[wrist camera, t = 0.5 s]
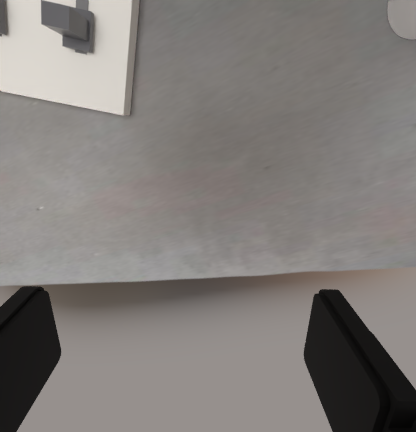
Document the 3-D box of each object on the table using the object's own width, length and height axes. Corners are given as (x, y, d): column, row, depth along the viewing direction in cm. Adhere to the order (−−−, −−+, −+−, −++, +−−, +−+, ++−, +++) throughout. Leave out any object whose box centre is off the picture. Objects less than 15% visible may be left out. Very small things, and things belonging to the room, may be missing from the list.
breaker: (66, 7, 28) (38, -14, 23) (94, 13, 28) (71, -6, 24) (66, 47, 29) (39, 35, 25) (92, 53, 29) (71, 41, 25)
